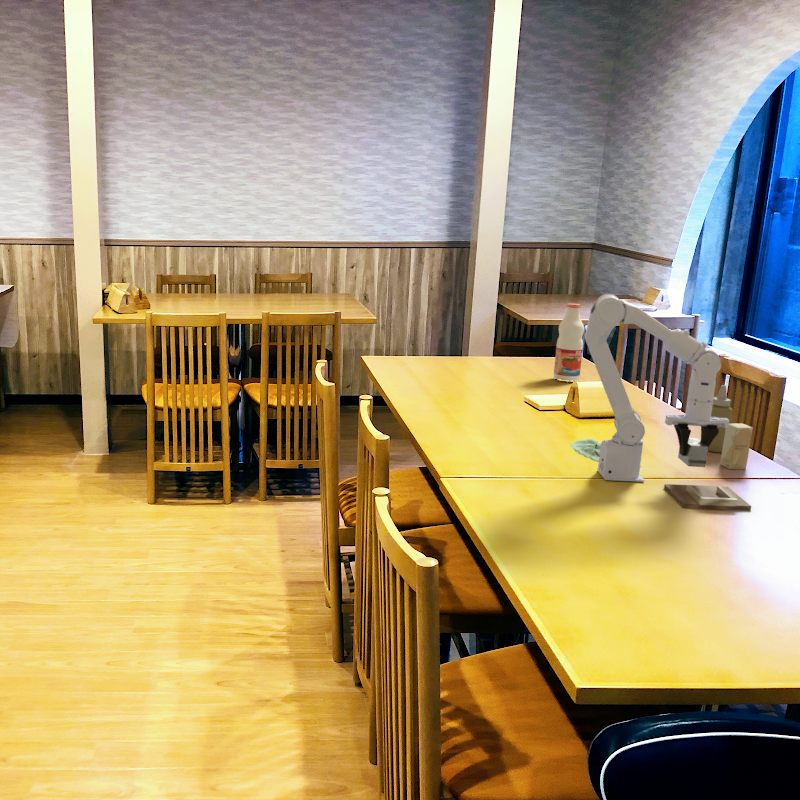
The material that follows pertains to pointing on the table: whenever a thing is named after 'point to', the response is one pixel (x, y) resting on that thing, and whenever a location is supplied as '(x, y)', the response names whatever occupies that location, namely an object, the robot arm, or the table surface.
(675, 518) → the table surface
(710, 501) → the holder
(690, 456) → the block
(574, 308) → the fruit juice
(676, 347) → the robot arm
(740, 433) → the box
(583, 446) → the cloth
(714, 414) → the squeeze bottle
